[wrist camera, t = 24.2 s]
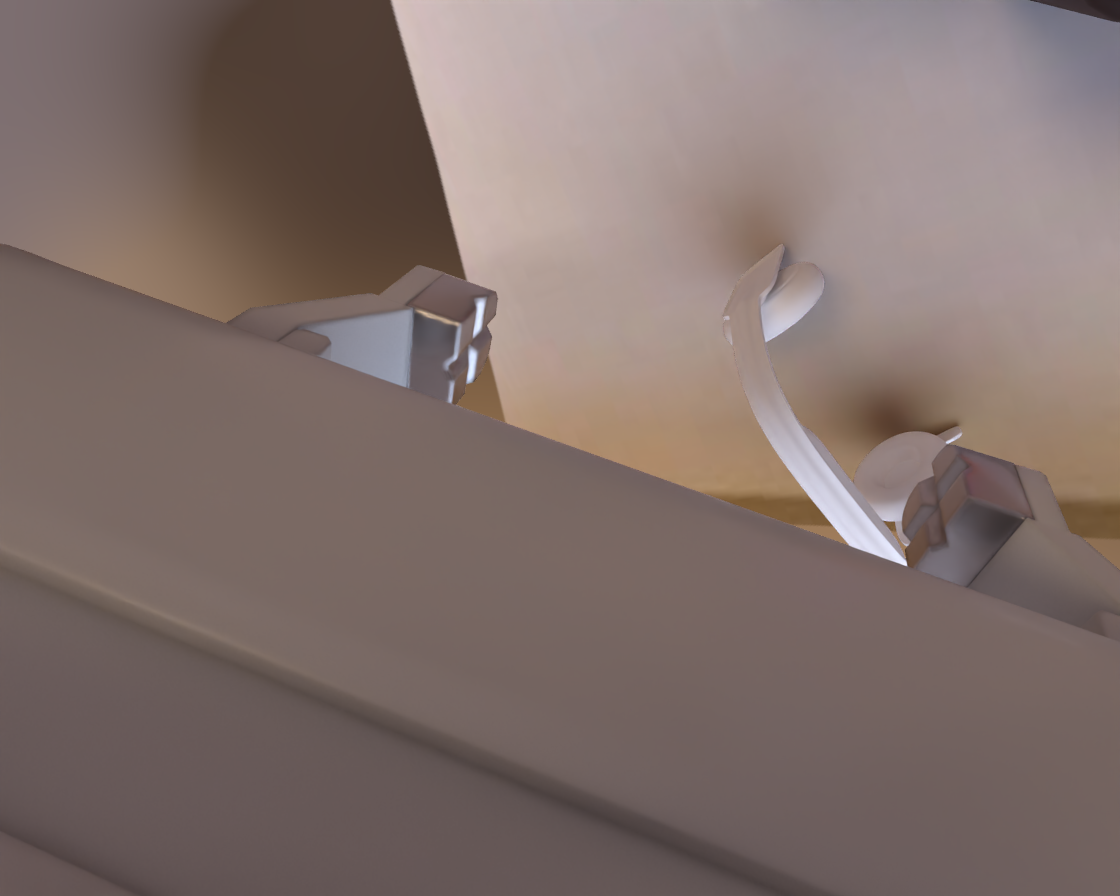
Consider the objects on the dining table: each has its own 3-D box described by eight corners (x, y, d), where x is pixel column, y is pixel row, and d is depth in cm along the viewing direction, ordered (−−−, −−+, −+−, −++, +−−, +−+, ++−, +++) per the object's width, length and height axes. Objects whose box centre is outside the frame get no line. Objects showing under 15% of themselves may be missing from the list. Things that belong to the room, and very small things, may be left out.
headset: (712, 275, 49) (669, 404, 35) (804, 210, 45) (795, 327, 31) (871, 477, 54) (888, 660, 40) (966, 434, 50) (1021, 622, 36)
